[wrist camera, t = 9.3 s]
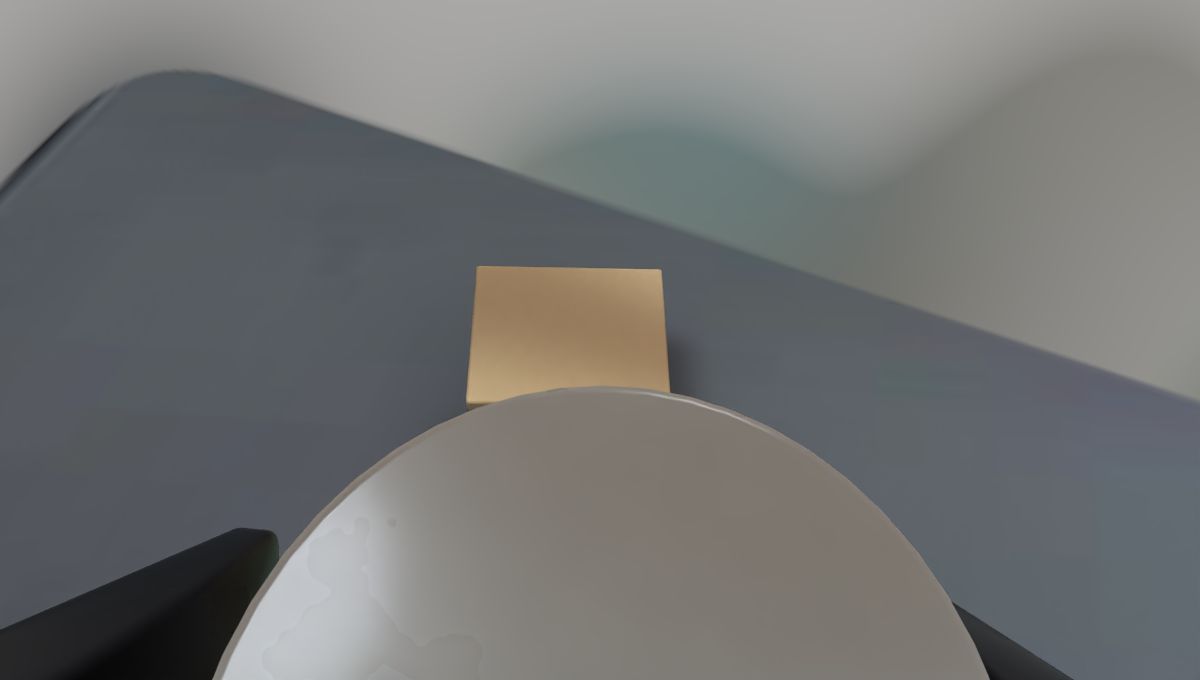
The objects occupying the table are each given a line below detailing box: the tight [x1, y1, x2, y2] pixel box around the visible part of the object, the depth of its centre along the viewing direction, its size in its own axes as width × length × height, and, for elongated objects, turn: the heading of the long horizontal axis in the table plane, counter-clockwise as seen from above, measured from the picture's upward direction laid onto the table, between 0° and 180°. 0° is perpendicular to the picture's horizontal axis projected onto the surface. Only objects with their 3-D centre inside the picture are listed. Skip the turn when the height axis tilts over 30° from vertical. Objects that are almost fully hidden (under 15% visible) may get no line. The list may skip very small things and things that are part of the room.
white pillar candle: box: [212, 266, 990, 680], centre depth 9 cm, size 11×5×10 cm, turn 1°
